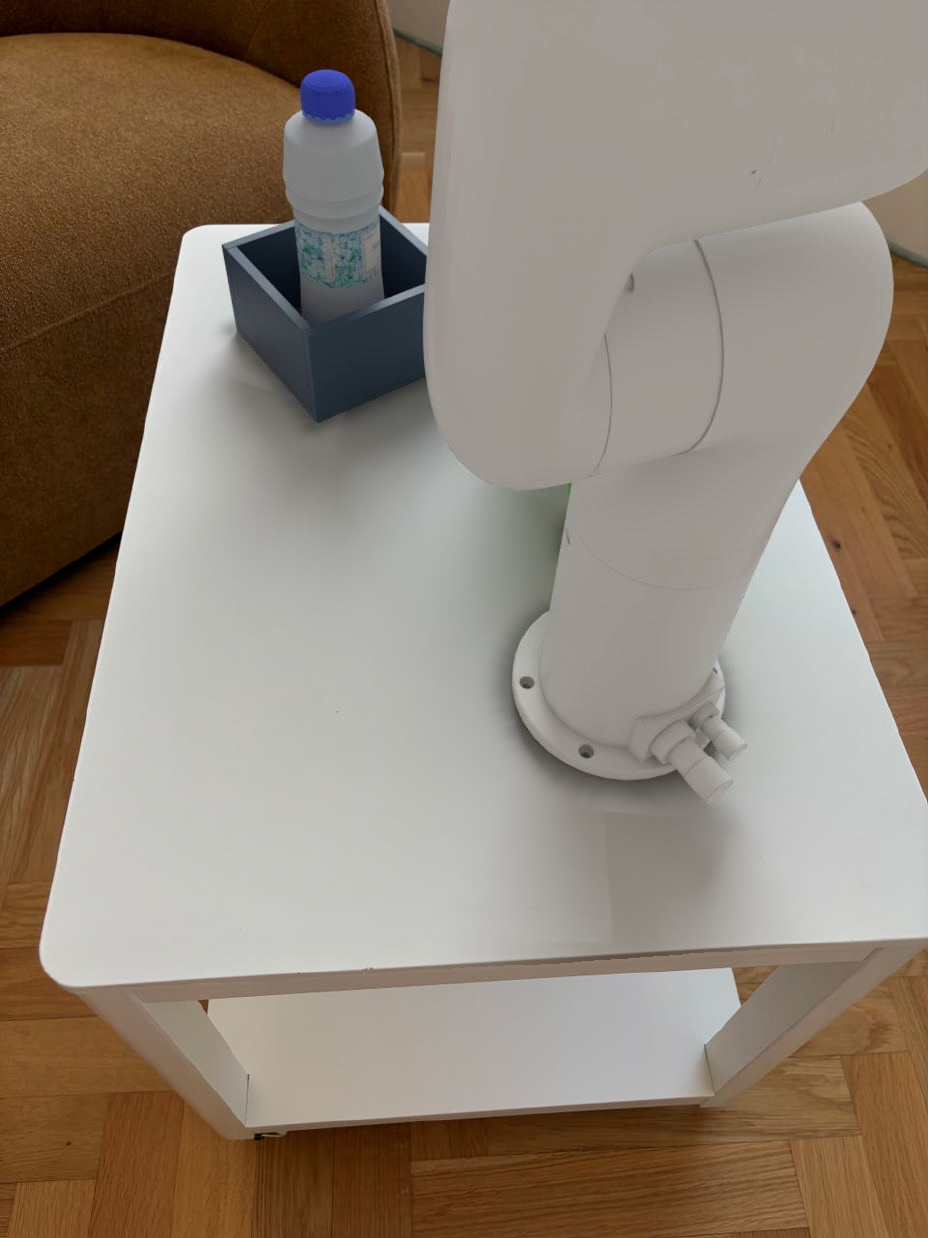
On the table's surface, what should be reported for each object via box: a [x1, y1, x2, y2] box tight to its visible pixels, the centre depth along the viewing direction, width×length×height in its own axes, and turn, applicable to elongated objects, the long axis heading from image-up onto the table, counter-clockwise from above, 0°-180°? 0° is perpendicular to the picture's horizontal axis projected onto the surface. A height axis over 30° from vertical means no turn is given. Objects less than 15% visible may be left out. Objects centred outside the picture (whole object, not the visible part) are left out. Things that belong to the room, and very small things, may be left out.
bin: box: [221, 203, 428, 423], centre depth 75 cm, size 13×13×8 cm
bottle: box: [282, 69, 385, 327], centre depth 69 cm, size 7×7×20 cm
